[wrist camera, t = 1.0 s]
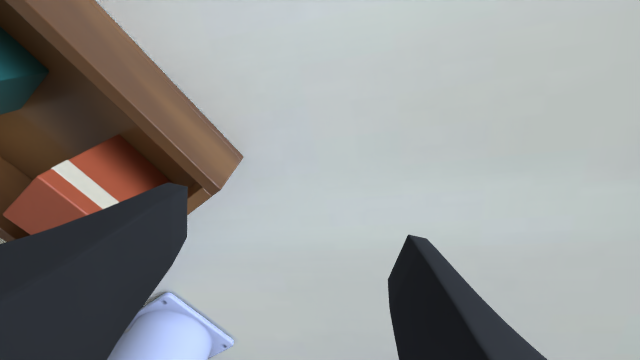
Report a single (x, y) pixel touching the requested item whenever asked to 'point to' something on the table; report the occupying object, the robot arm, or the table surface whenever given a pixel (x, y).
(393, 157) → the table surface
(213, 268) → the table surface
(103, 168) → the rust packet
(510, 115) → the table surface
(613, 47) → the table surface
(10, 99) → the block
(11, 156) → the tray
